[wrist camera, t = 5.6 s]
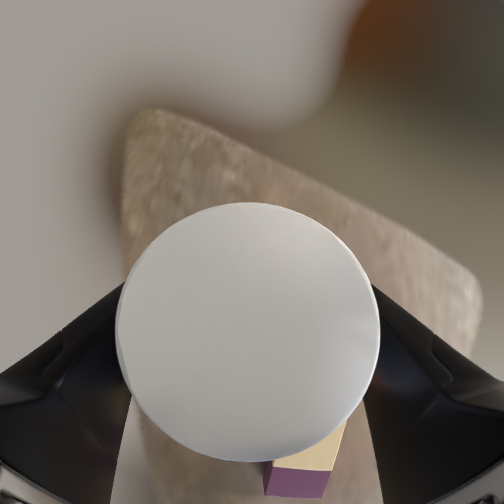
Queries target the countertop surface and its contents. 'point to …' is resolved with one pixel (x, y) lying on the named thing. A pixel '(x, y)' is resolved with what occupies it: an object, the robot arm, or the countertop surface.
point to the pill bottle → (247, 332)
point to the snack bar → (303, 469)
